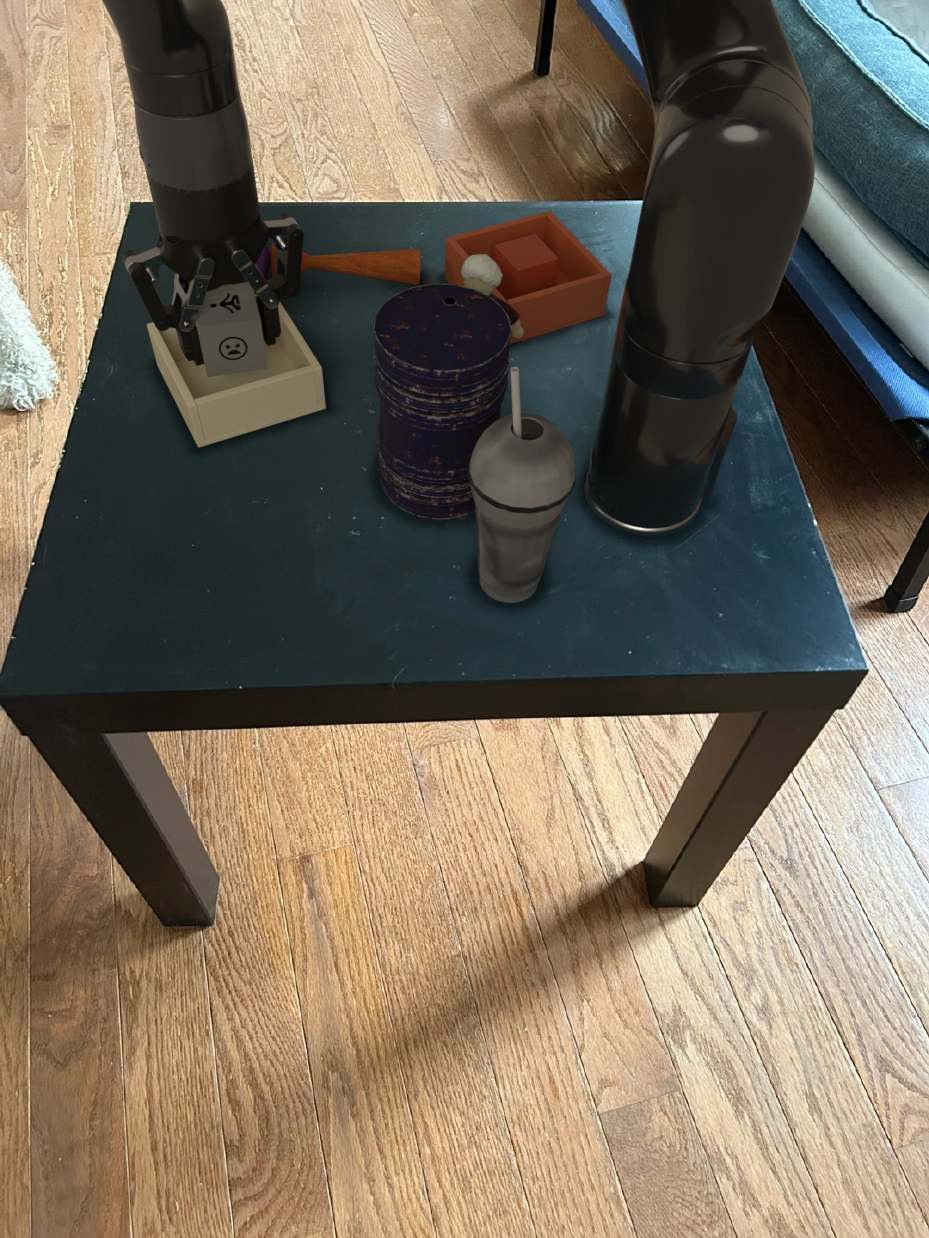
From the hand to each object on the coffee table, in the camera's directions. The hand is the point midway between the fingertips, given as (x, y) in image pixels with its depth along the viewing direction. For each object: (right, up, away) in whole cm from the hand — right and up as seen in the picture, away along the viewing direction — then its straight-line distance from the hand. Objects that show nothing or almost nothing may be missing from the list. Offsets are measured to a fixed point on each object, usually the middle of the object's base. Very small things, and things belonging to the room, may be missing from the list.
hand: (233, 348), depth 84 cm
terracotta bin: (+25, +8, +13) cm, 29 cm away
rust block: (+25, +9, +12) cm, 29 cm away
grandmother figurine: (+20, -2, +5) cm, 21 cm away
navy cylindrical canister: (+17, -11, -2) cm, 21 cm away
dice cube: (0, 0, +1) cm, 1 cm away
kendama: (+5, +9, +13) cm, 17 cm away
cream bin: (0, -2, +3) cm, 4 cm away
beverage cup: (+23, -20, -8) cm, 31 cm away
